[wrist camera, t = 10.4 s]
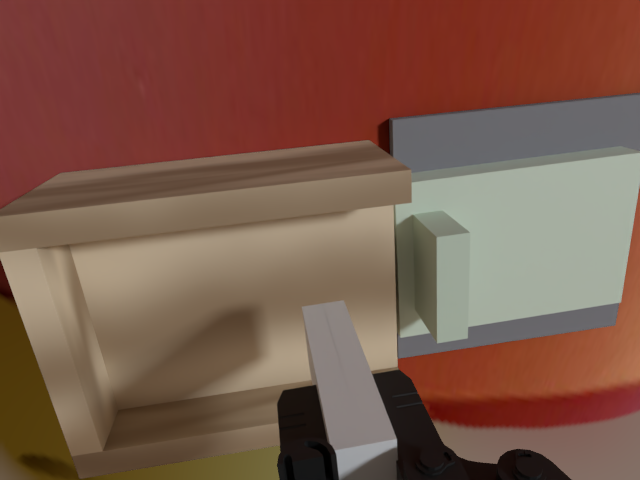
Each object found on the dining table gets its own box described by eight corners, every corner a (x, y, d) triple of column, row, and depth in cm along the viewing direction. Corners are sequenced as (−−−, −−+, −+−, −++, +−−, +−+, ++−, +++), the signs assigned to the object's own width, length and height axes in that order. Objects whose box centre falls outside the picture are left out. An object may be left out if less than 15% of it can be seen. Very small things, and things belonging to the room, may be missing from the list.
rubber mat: (388, 118, 22) (392, 120, 22) (645, 92, 23) (655, 92, 23) (395, 352, 27) (398, 358, 26) (608, 319, 28) (615, 325, 28)
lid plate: (385, 176, 22) (416, 203, 18) (619, 146, 24) (701, 165, 19) (391, 321, 25) (419, 374, 21) (600, 288, 27) (666, 332, 22)
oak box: (60, 173, 21) (-15, 218, 15) (368, 140, 22) (411, 169, 16) (120, 379, 25) (79, 479, 19) (377, 341, 26) (414, 423, 21)
